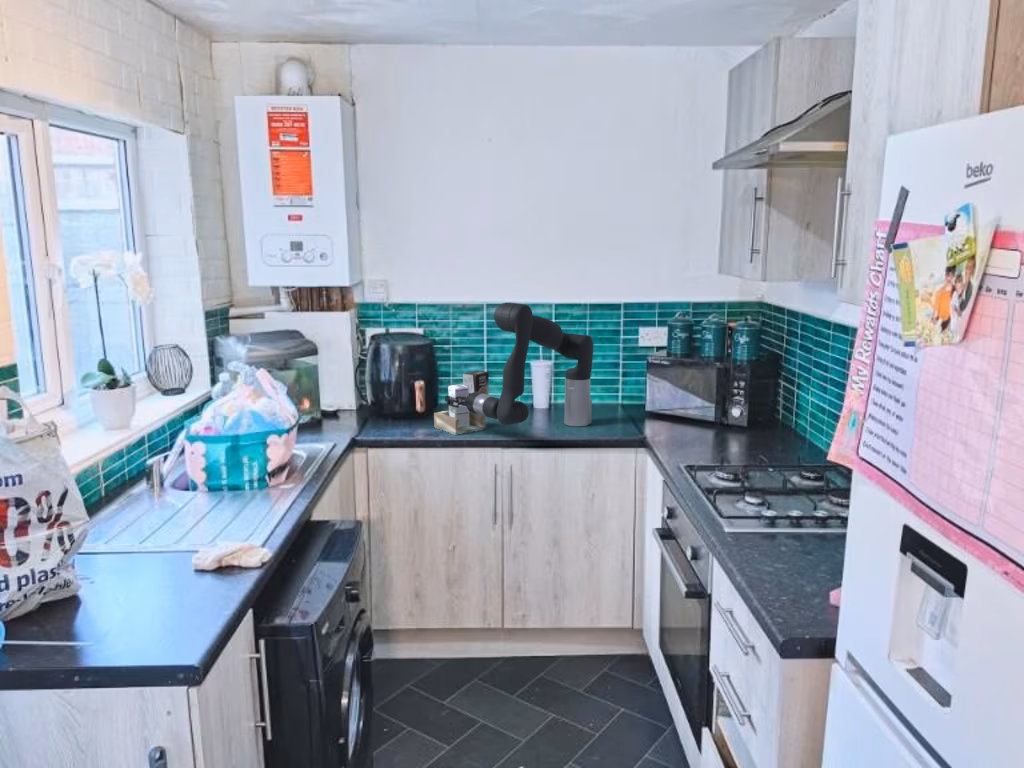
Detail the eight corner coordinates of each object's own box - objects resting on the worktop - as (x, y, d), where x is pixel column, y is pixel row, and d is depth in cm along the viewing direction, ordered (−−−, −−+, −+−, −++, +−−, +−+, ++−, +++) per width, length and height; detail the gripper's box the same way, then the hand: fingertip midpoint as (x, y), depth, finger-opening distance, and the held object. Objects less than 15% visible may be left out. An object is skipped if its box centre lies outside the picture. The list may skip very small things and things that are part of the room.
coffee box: (475, 416, 294) (475, 375, 290) (462, 414, 297) (462, 373, 294) (489, 411, 301) (489, 371, 298) (476, 409, 305) (475, 370, 301)
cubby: (463, 422, 284) (463, 407, 283) (485, 429, 274) (485, 414, 273) (434, 427, 276) (434, 412, 275) (455, 435, 266) (455, 419, 265)
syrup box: (470, 426, 275) (469, 386, 272) (455, 428, 272) (454, 388, 269) (462, 422, 279) (462, 383, 277) (448, 424, 276) (447, 385, 274)
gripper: (498, 391, 266) (471, 384, 279) (465, 396, 257) (438, 388, 270) (498, 412, 268) (471, 404, 280) (465, 418, 259) (439, 409, 271)
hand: (455, 396), depth 275 cm, fingers open, 8 cm apart
